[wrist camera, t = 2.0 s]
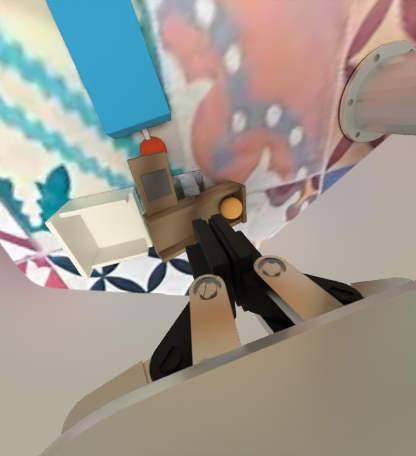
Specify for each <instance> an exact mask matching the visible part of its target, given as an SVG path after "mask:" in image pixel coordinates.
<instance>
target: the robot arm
mask: <svg viewBox="0 0 416 456" xmlns="http://www.w3.org/2000/svg"><path fill="white" fill-rule="evenodd" d="M339 117H340V125H341V129H342V131H343V133H344V134H345V136H346V137H347V138H348V139H350V140H352V141H356V142H369V141H373V140H375V139H378V138H379V137H381V136H383V135H384V134H386V133H388V134H404V135H416V48H415V47H414V46H413V45H412V44H411V43H409V42H406V41H395V42H391V43H388V44H385V45H383V46H380V47H378V48H377V49H375V50H374V51H372V52H371V53H370V54H369V55H368V56H367V57H366V58H365V59H364V60H363V61H362V62H361V63H360V64H359V66H358V67H357V68H356V70H355V71H354V73H353V74H352V76H351V78H350V80H349V82H348V84H347V86H346V88H345V91H344V93H343V96H342V100H341V105H340V114H339ZM192 226H193V231H194V235H195V239H196V243H195V244H191V245H188V246H185V249H186V253H187V257H188V260H189V264H190V268H191V271H192V274H193V278H194V281H193V282H192V284H191V286H190V290H189V296H190V301H189V302H188V304H187V305H186V307H185V308H184V310H183V311H182V313H181V314H180V315H179V317H178V318H177V320H176V321H175V323H174V324H173V325H172V327H171V328H170V330H169V331H168V333H167V334H166V336H165V337H164V339H163V340H162V341H161V343H160V344H159V346H158V347H157V349H156V350H155V352H154V353H153V355H152V357H151V358H150V359H149V360H147V361H146V362H144V363H143V362H142V361H140V362H139V363H137V364H136V365H134V366H132V367H131V368H129V369H128V370H126V371H124V372H123V373H121V374H120V375H118V376H117V377H115V378H114V379H112V380H110V381H109V382H107V383H105V384H104V385H102V386H101V387H99V388H97V389H96V390H94V391H93V392H91V393H89V394H88V395H86V396H85V397H84V398H83V399H81V400H80V401H79V402H78V403H77V404H76V405H75V406H74V408H73V409H72V410H71V411H70V413H69V415H68V417H67V419H66V421H65V422H64V425H63V429H62V434H61V436H60V437H59V438H57V440H56V441H54V442H53V443H52V444H51V445H50V446H49V447H47V448H46V449H45V450H44V451H43V452H42V453H41V454H40V455H39V456H416V280H415V281H412V280H410V279H406V278H389V279H380V280H373V281H365V282H357V283H351V285H350V286H349V285H347V284H344V283H341V282H337V281H333V280H328V279H325V278H320V277H316V276H312V275H308V274H303V273H301V272H300V271H299V270H297V269H296V268H295V267H294V266H292V265H291V264H289V263H288V262H287V261H285V260H284V259H282V258H281V257H278V256H273V255H267V256H262V255H261V254H260V253H259V252H258V250H257V249H256V248H255V247H254V246H253V245H252V243H251V242H250V241H249V240H248V239H247V238H246V236H245V235H244V234H243V233H242V232H241V231H237V232H235V231H234V230H233V228H232V227H231V226H230V225H229V223H228V222H227V221H226V220H225V218H224V217H223V216H222V215H221V213H219V214H215V215H211V218H210V219H208V223H207V222H206V220H202V219H201V218H200V219H196V220H192ZM235 302H236V304H237V306H242V308H243V310H244V311H248V310H249V311H250V312H253V313H255V314H256V317H257V319H258V320H259V321H260V323H261V324H262V326H263V327H264V328H265V330H266V331H267V332H268V334H269V336H266V337H264V338H261V339H259V340H256V341H254V342H251V343H248V344H246V345H244V346H241V343H240V339H239V335H238V332H237V328H236V324H235V318H236V310H235Z"/></svg>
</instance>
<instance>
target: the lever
mask: <svg viewBox="0 0 416 456" xmlns="http://www.w3.org/2000/svg"><path fill="white" fill-rule="evenodd" d="M46 2H47V4H48V7H49V9H50V11H51V13H52V15H53V18H54V20H55V22H56V24H57V26H58V29H59V31H60V33H61V35H62V37H63V40H64V42H65V44H66V46H67V48H68V51H69V53H70V55H71V57H72V59H73V62H74V64H75V66H76V68H77V70H78V73H79V75H80V77H81V79H82V81H83V84H84V86H85V88H86V90H87V92H88V95H89V97H90V99H91V101H92V103H93V106H94V108H95V110H96V112H97V114H98V116H99V119H100V121H101V123H102V125H103V127H104V130H105V132H106V134H107V135H109V136H111V137H112V138H114V139H117V138H120V137H123V136H126V135H129V134H132V133H134V132H137V131H140V130H142V132H143V134H144V136H145V138H146V139H144V140H143V141H142V143H141V145H140V152H141V155H142V156H145V155H149V154H153V153H157V152H161V151H163V152H165V153H167V150H166V146H165V144H164V143H163V142H162V141H161V140H160V139H159V138H157V137H150V135H149V132H148V130H147V128H149V127H152V126H155V125H158V124H161V123H164V122H167V121H170V120H171V115H170V111H169V108H168V105H167V102H166V99H165V96H164V94H163V91H162V88H161V85H160V82H159V79H158V77H157V74H156V71H155V68H154V65H153V62H152V60H151V57H150V54H149V51H148V48H147V45H146V43H145V40H144V37H143V34H142V31H141V28H140V26H139V23H138V20H137V17H136V14H135V11H134V9H133V6H132V3H131V0H46Z"/></svg>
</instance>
